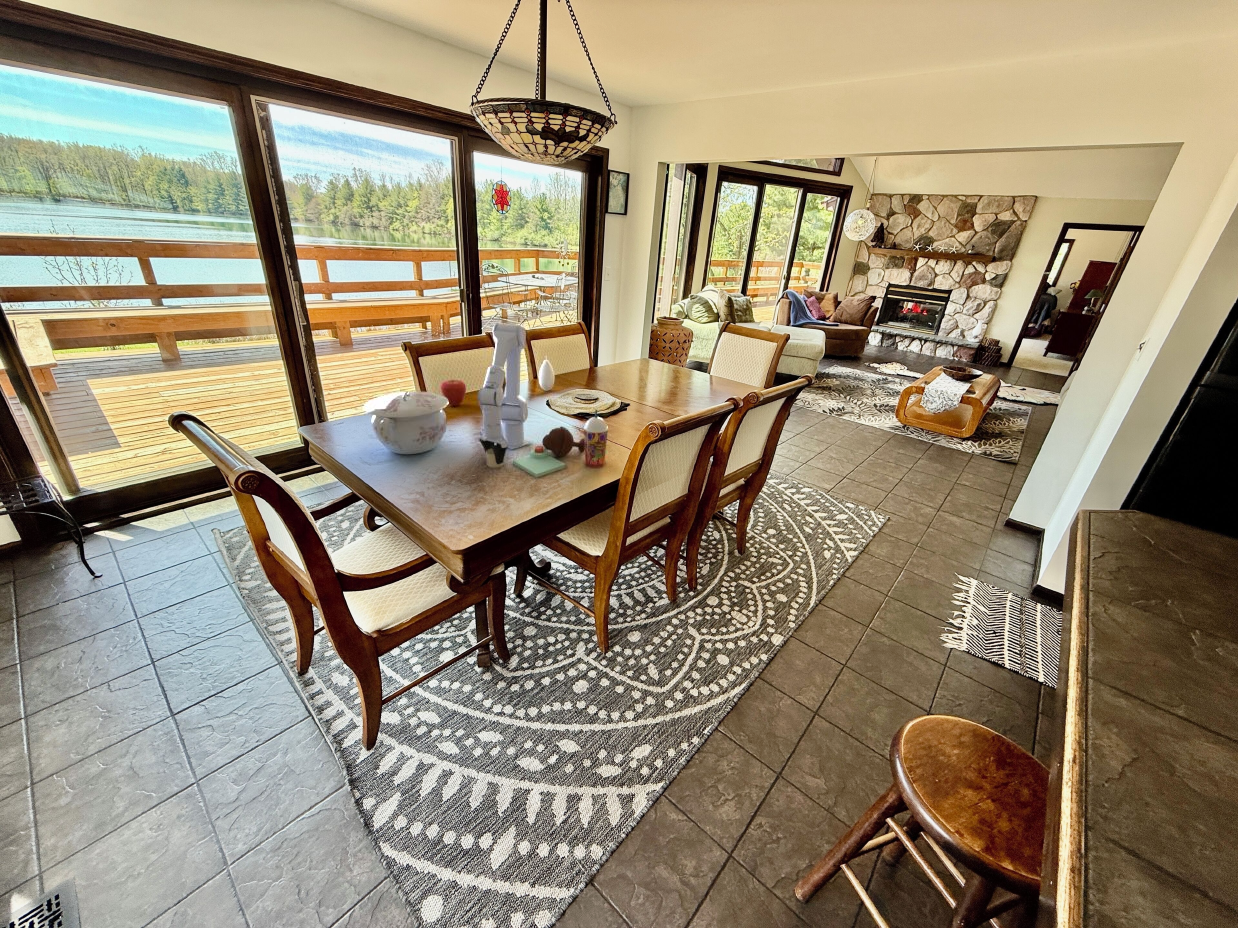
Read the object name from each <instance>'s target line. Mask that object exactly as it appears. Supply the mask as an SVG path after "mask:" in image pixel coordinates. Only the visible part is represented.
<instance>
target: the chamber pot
mask: <svg viewBox="0 0 1238 928" xmlns="http://www.w3.org/2000/svg"><path fill="white" fill-rule="evenodd" d="M448 403H449V401H448V399H447V398H446V397H444V396H443V394H439V393H436V392H429V391H419V390H418V391H417V390H416V391H412V390H411V391H410V390H409V391H408V390H407V391H399V392H392V393H387V394H383V395H379V396H377V397H375V398H372V399H370V400H368V401H367V402H366V403H364V406H363V411H365V412H366V413H367V414H369V415H371V419H370V423H371V429H372V431H373V434H374V435H375V438H376V439H377V440H378V441H379V442H380V443H381V444H382V445H383V446H384V447H385V448H386V449H387V450H388V451H390V452H391V453H394V454H400V455H417V454H422V453H425V452H428V451H432V450H433V449H435V448H436V447H437V446H438V445H439V444H440V443H441V441H442V439H443V437H444V436H445V434H446V431H447V422H448V421H447V414H446V411H445V410H444V409H445V408H446V407H447V406H448V405H449V404H448Z"/></svg>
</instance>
